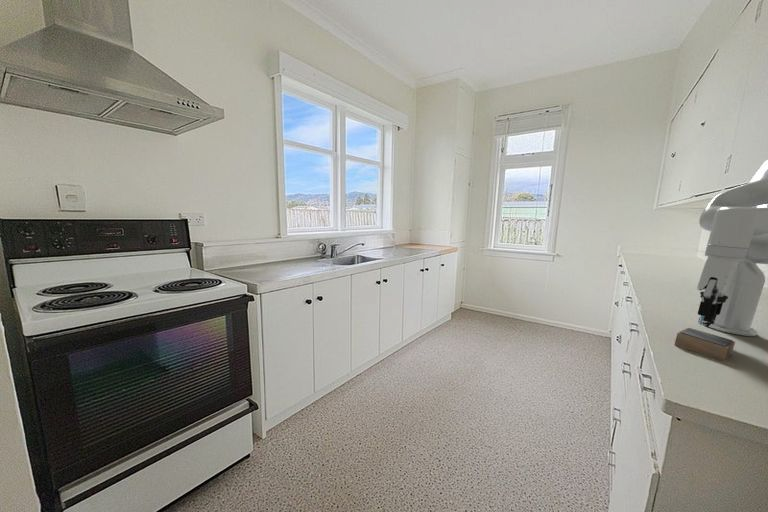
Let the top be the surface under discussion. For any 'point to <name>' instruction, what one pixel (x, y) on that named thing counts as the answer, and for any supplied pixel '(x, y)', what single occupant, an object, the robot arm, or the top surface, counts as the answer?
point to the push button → (708, 321)
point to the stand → (705, 343)
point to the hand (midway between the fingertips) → (708, 314)
